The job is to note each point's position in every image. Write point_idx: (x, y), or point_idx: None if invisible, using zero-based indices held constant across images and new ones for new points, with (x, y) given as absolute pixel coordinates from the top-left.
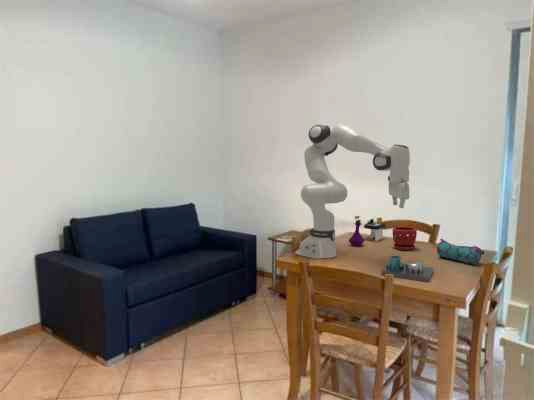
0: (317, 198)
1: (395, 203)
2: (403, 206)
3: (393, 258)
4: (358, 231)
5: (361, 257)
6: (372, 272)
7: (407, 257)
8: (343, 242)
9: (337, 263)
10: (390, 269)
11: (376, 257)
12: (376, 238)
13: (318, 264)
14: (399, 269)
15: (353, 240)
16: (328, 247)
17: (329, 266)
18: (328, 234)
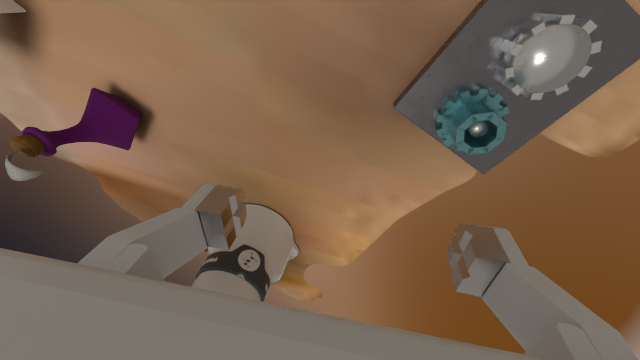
0: None
1: (233, 217)
2: (513, 244)
3: (492, 148)
4: (83, 130)
5: (281, 151)
6: (445, 179)
7: None
8: None
9: (340, 226)
10: None
11: (280, 104)
12: (4, 4)
13: (343, 260)
14: None
15: (130, 138)
16: (278, 250)
17: (363, 248)
18: (264, 283)
